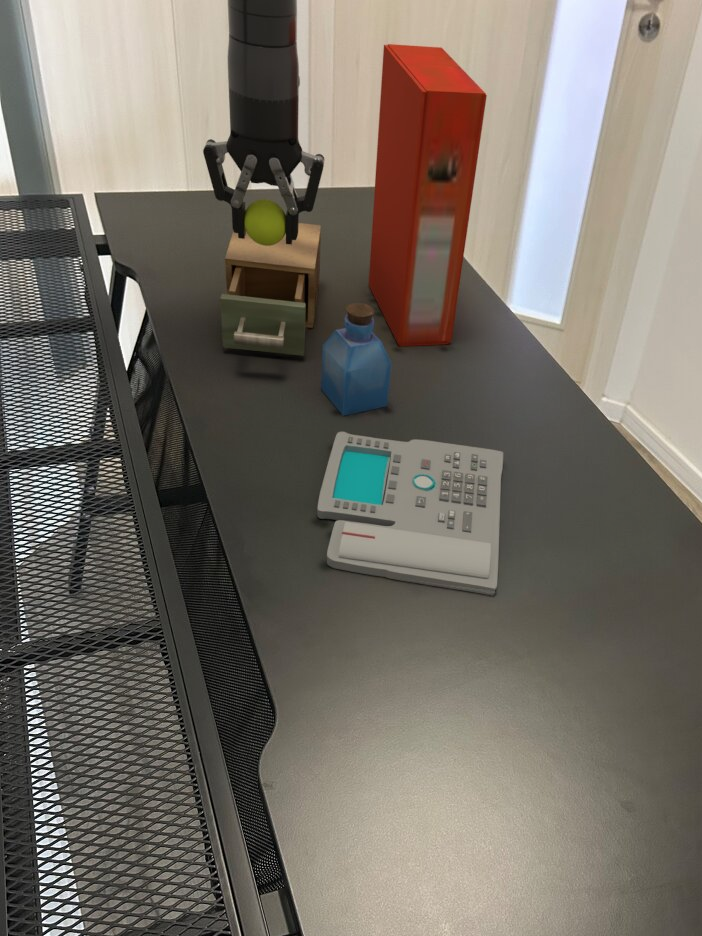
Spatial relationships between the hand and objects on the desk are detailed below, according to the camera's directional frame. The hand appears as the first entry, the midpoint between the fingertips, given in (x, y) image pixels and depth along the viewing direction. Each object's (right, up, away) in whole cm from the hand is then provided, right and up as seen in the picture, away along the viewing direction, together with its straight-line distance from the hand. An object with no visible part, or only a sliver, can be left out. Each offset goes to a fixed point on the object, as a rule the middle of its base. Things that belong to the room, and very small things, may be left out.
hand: (266, 238), depth 105 cm
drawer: (-2, -10, +8) cm, 13 cm away
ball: (0, 0, 0) cm, 1 cm away
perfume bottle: (+10, -19, +3) cm, 22 cm away
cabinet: (-2, -2, +17) cm, 18 cm away
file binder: (+16, -3, +20) cm, 26 cm away
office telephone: (+18, -35, -10) cm, 41 cm away
